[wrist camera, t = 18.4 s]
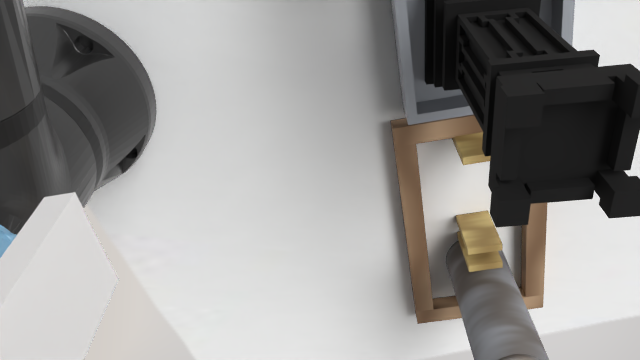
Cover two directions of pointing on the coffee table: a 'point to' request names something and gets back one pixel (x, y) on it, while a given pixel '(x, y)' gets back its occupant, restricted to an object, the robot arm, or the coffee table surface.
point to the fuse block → (472, 254)
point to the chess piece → (537, 106)
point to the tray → (410, 44)
